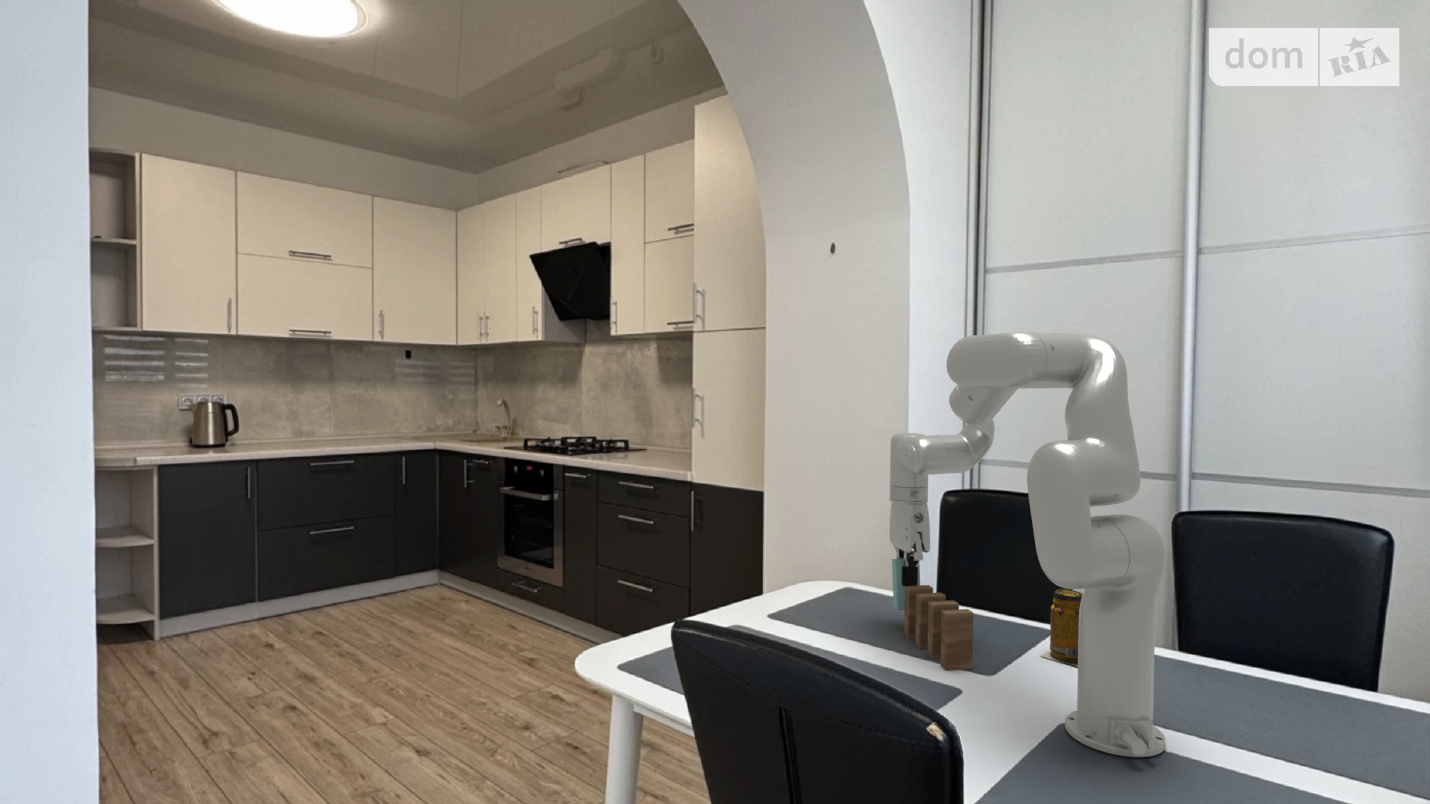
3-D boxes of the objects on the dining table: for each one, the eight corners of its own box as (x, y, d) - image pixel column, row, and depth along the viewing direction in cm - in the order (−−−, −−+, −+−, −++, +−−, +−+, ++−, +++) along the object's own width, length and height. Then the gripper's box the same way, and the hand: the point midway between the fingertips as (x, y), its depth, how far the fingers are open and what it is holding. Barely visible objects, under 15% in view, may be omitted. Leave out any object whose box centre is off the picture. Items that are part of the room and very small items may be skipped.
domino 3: (944, 647, 141) (945, 595, 141) (920, 649, 140) (920, 596, 140) (939, 644, 143) (940, 592, 143) (915, 645, 142) (916, 593, 142)
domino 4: (958, 657, 136) (958, 603, 136) (932, 659, 135) (933, 604, 135) (952, 653, 138) (953, 600, 138) (927, 655, 137) (928, 601, 137)
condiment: (1059, 648, 142) (1060, 585, 141) (1105, 661, 135) (1106, 595, 135) (1039, 657, 137) (1041, 592, 137) (1086, 671, 130) (1088, 603, 130)
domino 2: (932, 638, 146) (933, 587, 146) (908, 639, 146) (909, 588, 145) (927, 634, 148) (928, 585, 148) (904, 636, 148) (904, 586, 147)
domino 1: (920, 608, 152) (919, 559, 151) (897, 610, 151) (895, 561, 150) (916, 605, 154) (915, 557, 153) (893, 607, 153) (892, 559, 152)
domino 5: (972, 668, 131) (973, 612, 131) (945, 670, 130) (946, 613, 130) (966, 664, 133) (967, 609, 133) (940, 666, 132) (941, 610, 132)
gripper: (944, 500, 144) (942, 594, 145) (909, 487, 160) (908, 573, 160) (907, 501, 143) (905, 596, 144) (876, 488, 158) (875, 574, 159)
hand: (907, 583), depth 152 cm, fingers closed on domino 1, 1 cm apart
